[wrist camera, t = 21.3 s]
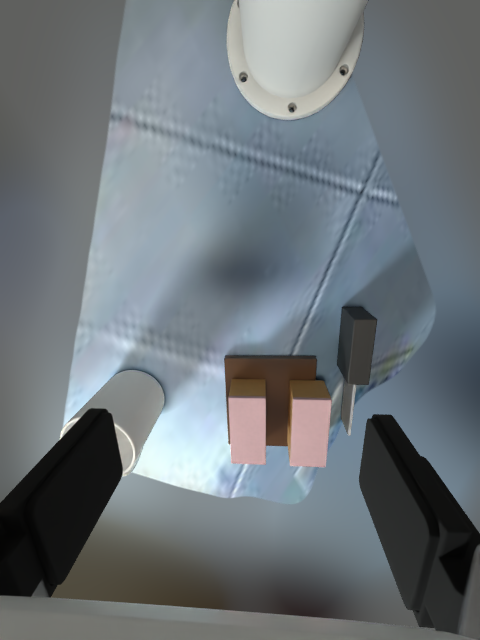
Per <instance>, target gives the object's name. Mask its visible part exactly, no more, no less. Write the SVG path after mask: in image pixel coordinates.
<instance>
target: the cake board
mask: <svg viewBox="0 0 480 640" xmlns="http://www.w3.org/2000/svg"><path fill="white" fill-rule="evenodd" d="M224 361H225V382H226V402H227V423H228V443H229V444H230V424H229V402H228V397H229V392H230V387H231V381H232V379H265V385H266V446H288V443H287V435H288V408H289V382H290V380H314V381H315V379H316V363H317V359H316V356H238V355H225V358H224Z"/></svg>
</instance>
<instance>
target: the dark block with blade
mask: <svg viewBox="0 0 480 640" xmlns="http://www.w3.org/2000/svg"><path fill="white" fill-rule="evenodd" d="M376 325H377V319H376V318H375V317H374V316H372V315H371V314H370V313H369V312H367V311H366V310H365V309H364V308H363V307H342V314H341V325H340V336H339V348H338V359H337V365H338V367H339V369H340V371H341V373H342V375H343V377H344V378H345V382H344V392H343V402H342V412H341V419H342V422H343V424H344V427H345V429H346V432H347V434H348V435H350V434H351V425H352V416H353V408H354V399H355V391H356V385H369V378H370V370H371V363H372V355H373V348H374V340H375V332H376Z"/></svg>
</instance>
